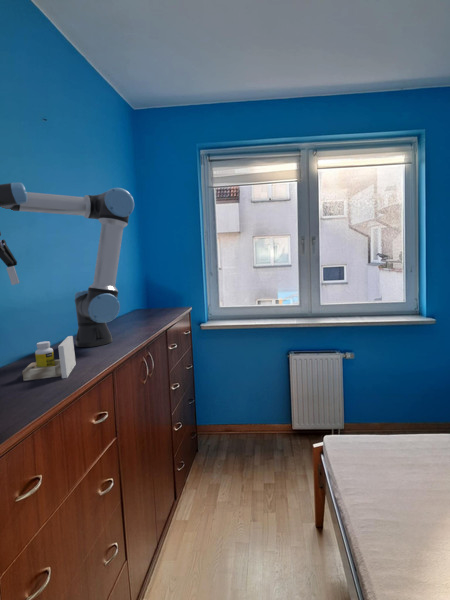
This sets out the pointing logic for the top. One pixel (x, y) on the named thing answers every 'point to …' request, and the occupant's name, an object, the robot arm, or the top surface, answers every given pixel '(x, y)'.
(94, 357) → the top surface
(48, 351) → the supplement bottle
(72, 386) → the top surface
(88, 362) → the top surface
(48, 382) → the top surface
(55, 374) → the birch socket block
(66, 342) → the white backstop wall
